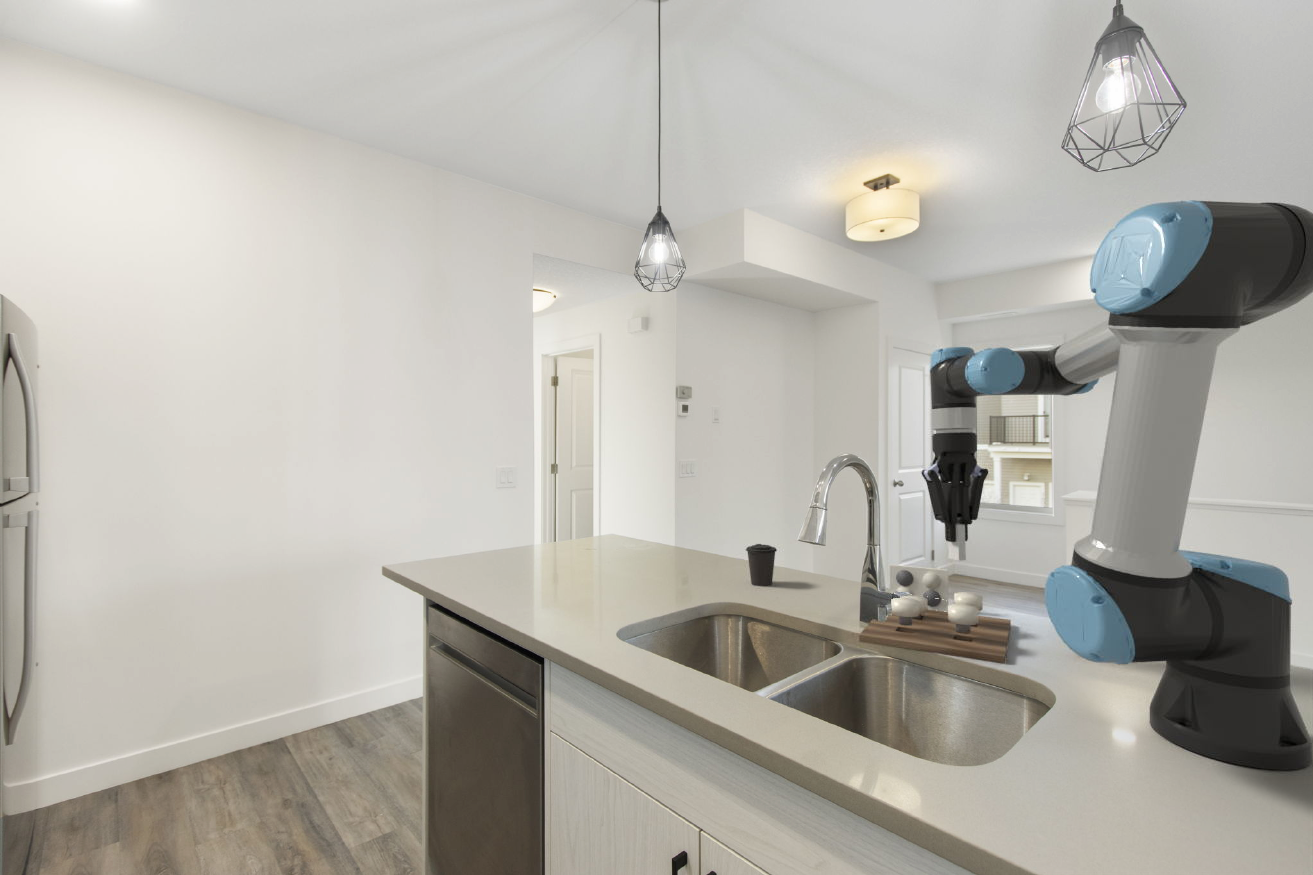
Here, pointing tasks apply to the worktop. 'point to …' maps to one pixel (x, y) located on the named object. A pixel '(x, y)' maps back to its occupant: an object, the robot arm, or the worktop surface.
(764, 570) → the coffee cup
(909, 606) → the button
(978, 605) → the button
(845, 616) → the worktop surface
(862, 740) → the worktop surface
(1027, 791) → the worktop surface
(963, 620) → the button
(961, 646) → the board
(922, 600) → the button
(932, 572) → the card
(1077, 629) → the robot arm
